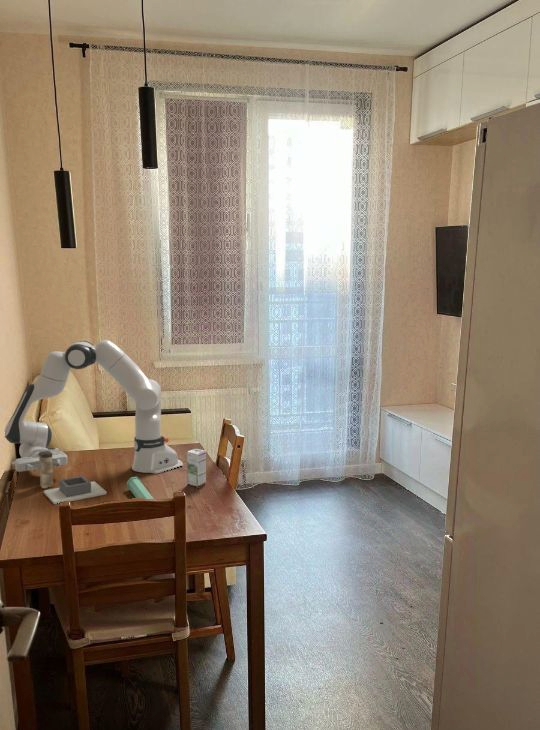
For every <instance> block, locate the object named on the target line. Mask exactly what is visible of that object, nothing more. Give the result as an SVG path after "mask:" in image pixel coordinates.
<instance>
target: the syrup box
mask: <svg viewBox="0 0 540 730" xmlns="http://www.w3.org/2000/svg"><path fill="white" fill-rule="evenodd" d="M186 454H187V455H186V457H187V458H186V460H187V462H186V463H187V466H186V467H187V471H186V472H187V473H186V474H187V479H186V480H187V482H186V483H187V484H191V485H196V486H198V485H200V484H202V483H204V482H206V483H207V451H206V450H204V449H199V448H193V449H190V450H188V451H186Z"/></svg>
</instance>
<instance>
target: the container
mask: <svg viewBox="0 0 540 730" xmlns="http://www.w3.org/2000/svg"><path fill="white" fill-rule="evenodd" d="M126 487H127V489H128V490H130V492H131V493H132V494H133V496H134V497H135V499H136V498H144V499H154V497H153V496H152V495H151V493H150V492H149V490H147V488H146V487H145V486H144V484H143V483H142V480H141V479H140V478H139V477H138V476H133V477H130V478H129V479H128V480H127V482H126Z"/></svg>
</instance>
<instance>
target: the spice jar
mask: <svg viewBox="0 0 540 730" xmlns="http://www.w3.org/2000/svg"><path fill="white" fill-rule="evenodd" d="M39 463H40V469H39V486H40V487H41V489H43V488H44V489H49V488H53V487H54V466H53V462H52V453H51V452H50V451H44V452H39ZM48 487H49V488H48Z"/></svg>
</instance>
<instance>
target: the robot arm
mask: <svg viewBox="0 0 540 730" xmlns="http://www.w3.org/2000/svg"><path fill="white" fill-rule="evenodd" d="M93 364H98V365H99V366H101V368H102V369H104V371H106V373H108V374H109V376H111V377H112V378H113V380H115V381H116V382H117V383H118V385H119V386H120V387H121V388H122V389H123V390H124V392H125V393H126V395H128V397H130V399H131V400H132V402H133V403H134V404H135V416H134V417H135V419H134V421H135V422H134V426H135V427H134V428H135V429H134V431H135V432H134V434H135V436H134V440H133V441H134V444H133V446H134V447H133V448H134V456H133V462H132V467H131V469H132V471H134V472H139V473H144V474H145V473H147V474H149V473H150V474H160V473H161V474H162V473H165V472H168V471H171V469H172V470H175V469H174V468H176V469H178V468H177V467H179V468H181V467H180V466H182V467H184V463H183V461H181V460H180V459H178V453H177V451H176V450H174V449H173V448H172V447H170V446H169V445H167V444H166V443H168V442H170V441H169V440H170V439H169V438H168V437H167V436H165V437H164V436H163V435H162V431H161V429H162V427H161V426H162V425H161V424H162V423H161V422H162V421H161V420H162V419H161V418H162V388H161V385H160V384H159V382H158V381H156V380H154V379H152V378H148V377H147V376H146V375H145V374H144V372H143V370H141V368H140V367H139V365H138V364H136V363H135V361H134V360H132V359H131V357H130V356H129V355H127V353H125V351H123V350H122V349H121V348H120V347H119V346H118V345H117V344H115V343H113V341H111V340H108V339H102V340H101V341H99V342H97V343H96V344H94V345H93V343H91V342H90V341H87V340H80V341H77V342H74V343H72V344H71V345H70V346H69V347H67V349H66V351H59V350H58V351H57V350H56V351H51V352H50V353H48V355H47V356H46V358H45V361H44V363H43V365H42V367H41V370H40V373H39V376H38V378H37V379H36V381H34V383H31V384H29V385H28V386H27V387H26V389H25V390H24V392H23V394H22V396H21V398H20V399H19V402H18V404H17V406H16V408H15V410H14V411H13V413H12V416H11V417H10V418H9V420H8V422H7V424H6V426H5V428H4V432H5V436H4V438H5V439H6V440H7V441H8V442H9V443H10V444H20V446H19V450H18V451H19V455H20V458H16V459H15V460H14V461H12V462H11V464H12V466H13V467H15V471H16V472H19V473H20V472H27V471H28V472H29V471H31V472H36V471H37V470H40V463H39V452H44V451H50V452H51V453H52V462H53V467H55V468H60V467H61V466H64V465H67V464H68V455H67V454H66V453H65V452H63V451H62V450H59V448H58V447H49V446H50V445H51V441H52V435H53V434H52V430H51V427H50V425H49V424H48V423H46V422H39V421H31V420H30V421H29V420H24V419H25V417H26V416H27V415H28V414H27V413H28V411H29V410H30V407H31V406H32V404H33V403H35V402H37V401H40V400H44V399H49V398H54V397H57V396H58V395H60V394H61V393H62V392H63V391H64V390H65V387H66V384H67V381H68V377H69V375H70V372H71V370H72V369H74V370H82V369H86V368H87V367H89V366H92V365H93ZM167 470H168V471H167ZM164 471H165V472H164Z"/></svg>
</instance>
